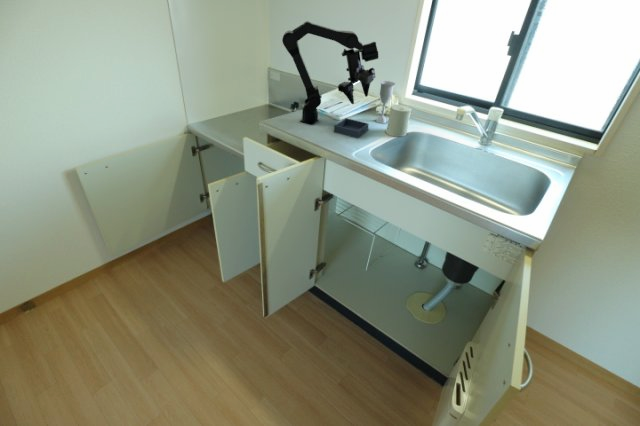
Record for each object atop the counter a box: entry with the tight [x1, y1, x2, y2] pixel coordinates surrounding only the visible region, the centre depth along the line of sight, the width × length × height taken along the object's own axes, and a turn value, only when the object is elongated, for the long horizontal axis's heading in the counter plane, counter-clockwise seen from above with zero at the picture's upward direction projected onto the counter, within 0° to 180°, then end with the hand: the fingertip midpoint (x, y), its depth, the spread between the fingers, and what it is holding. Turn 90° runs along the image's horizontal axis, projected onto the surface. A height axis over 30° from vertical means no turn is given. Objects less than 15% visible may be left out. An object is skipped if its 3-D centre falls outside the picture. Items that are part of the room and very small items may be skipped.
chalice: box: [375, 80, 396, 124], centre depth 155 cm, size 7×7×18 cm
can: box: [385, 104, 412, 138], centre depth 145 cm, size 9×9×12 cm
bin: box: [333, 117, 370, 139], centre depth 147 cm, size 12×12×3 cm
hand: (359, 100), depth 150 cm, fingers open, 9 cm apart
